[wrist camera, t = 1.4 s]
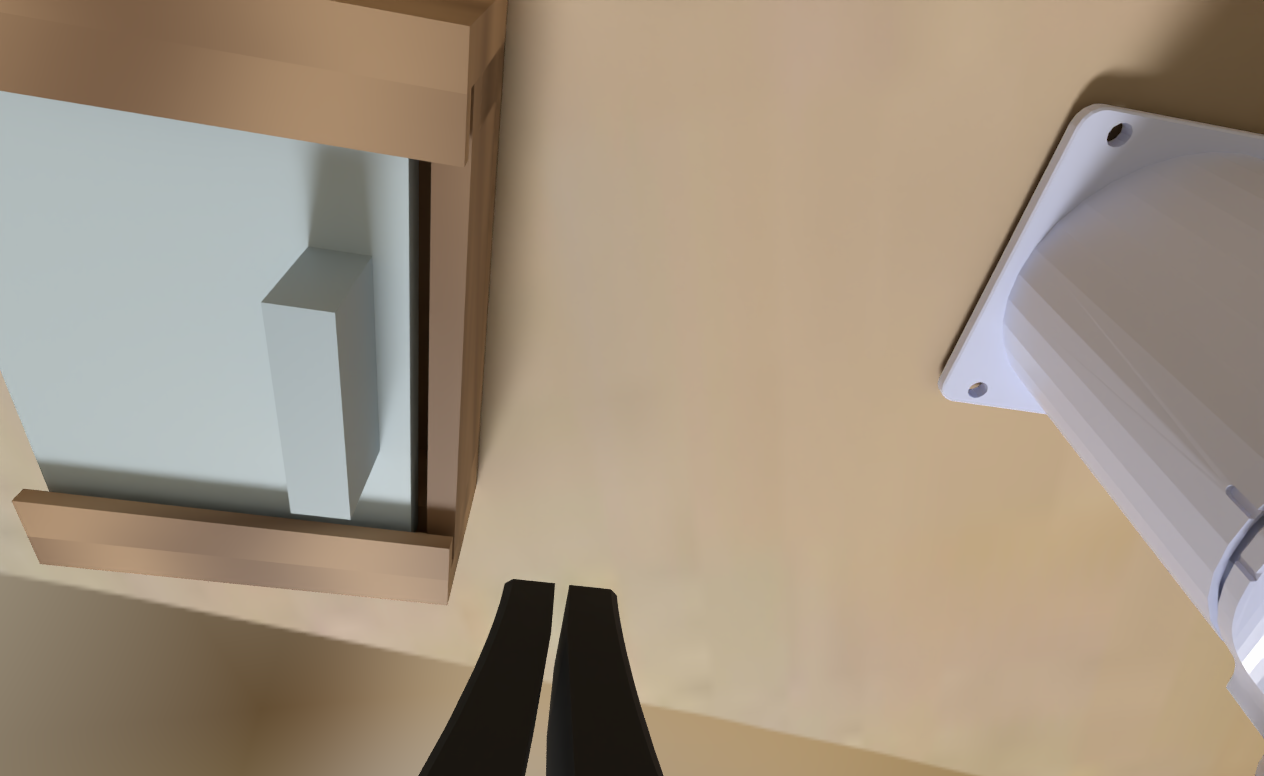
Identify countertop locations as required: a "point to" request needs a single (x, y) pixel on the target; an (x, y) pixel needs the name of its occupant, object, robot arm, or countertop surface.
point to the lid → (210, 314)
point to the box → (326, 114)
